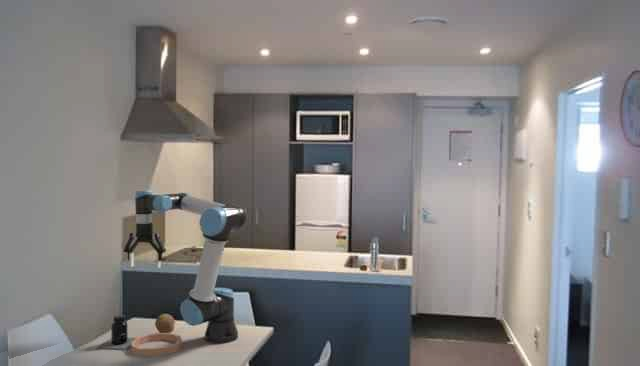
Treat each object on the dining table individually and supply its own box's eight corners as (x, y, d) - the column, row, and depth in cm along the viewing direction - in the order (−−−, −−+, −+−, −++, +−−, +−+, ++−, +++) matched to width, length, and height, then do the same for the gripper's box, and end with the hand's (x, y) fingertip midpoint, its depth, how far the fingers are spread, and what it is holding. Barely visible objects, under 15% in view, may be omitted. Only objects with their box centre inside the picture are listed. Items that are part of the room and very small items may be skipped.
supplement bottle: (122, 345, 238) (121, 318, 238) (108, 344, 240) (107, 318, 239) (130, 340, 245) (130, 314, 245) (117, 339, 246) (116, 313, 246)
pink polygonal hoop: (189, 340, 246) (188, 334, 246) (169, 357, 225) (169, 350, 225) (146, 338, 249) (145, 332, 249) (122, 354, 229) (122, 347, 229)
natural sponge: (158, 331, 259) (158, 311, 259) (177, 331, 259) (177, 311, 259) (153, 337, 250) (152, 316, 250) (172, 337, 250) (171, 316, 250)
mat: (141, 339, 248) (141, 338, 248) (125, 350, 234) (125, 348, 234) (113, 338, 250) (113, 336, 250) (96, 348, 237) (96, 347, 237)
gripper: (172, 222, 257) (173, 266, 258) (123, 221, 261) (124, 264, 262) (165, 223, 249) (166, 269, 250) (115, 223, 253) (116, 268, 254)
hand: (145, 267), depth 256 cm, fingers open, 13 cm apart
